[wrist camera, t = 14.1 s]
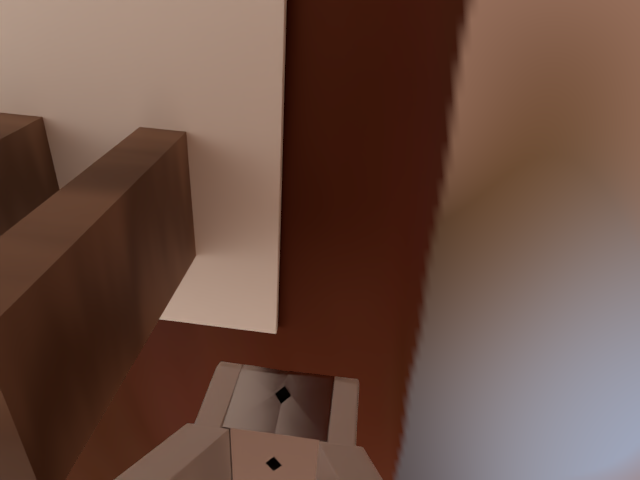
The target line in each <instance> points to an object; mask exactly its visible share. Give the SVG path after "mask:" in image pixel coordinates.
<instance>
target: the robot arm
mask: <svg viewBox="0 0 640 480" xmlns="http://www.w3.org/2000/svg"><path fill="white" fill-rule="evenodd" d="M333 385H334V386H333ZM332 394H333V395H332ZM358 395H359V381H358V379H352V378H344V377H335V379H334V376H329V375H320V374H311V373H303V372H294V371H283V370H276V369H270V368H263V367H257V366H250V365H242V364H235V363H228V362H222V361H221V362H220V363H219V364H218V366H217V367H216V370H215V372H214V375H213V377H212V380H211V382H210V385H209V388H208V390H207V393H206V395H205V398H204V400H203V403H202V406H201V408H200V411H199V413H198V416H197V418H196V421H195V423H194V424H189V423H187V424H186V425H184V426H183V427H182V428H181V429H179V430H178V431H177V432H175V433H174V434H173V435H171V436H170V437H169V438H168V439H166V440H165V441H164V442H162V443H161V444H160V445H158V446H157V447H156V448H155V449H153V450H152V451H151V452H149V453H148V454H147V455H146V456H144V457H143V458H142V459H140V460H139V461H138V462H136V463H135V464H134V465H133V466H131V467H130V468H129V469H127V470H126V471H125V472H124V473H122V474H121V475H120V476H118V477H117V478H116V479H114V480H382V478H381V476H380V475H379V473H378V471H377V470H376V468H375V466H374V465H373V463H372V461H371V460H370V458H369V457H368V455H367V453H366V452H365V450H364V448H363V447H358V446H356V432H357V413H358ZM331 403H332V404H331Z"/></svg>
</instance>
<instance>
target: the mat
mask: <svg viewBox="0 0 640 480" xmlns="http://www.w3.org/2000/svg"><path fill="white" fill-rule="evenodd" d="M286 9H287V0H0V113H9V114H19V115H29V116H39V117H43V121H44V125H45V130H46V134H47V138H48V142H49V147H50V151H51V155H52V160H53V164H54V168H55V172H56V177H57V181H58V185H59V189H61V188H62V187H64V186H65V185H66V184H68V183H69V182H70V181H71V180H73V179H74V178H75V177H76V176H78V175H79V174H80V173H82V172H83V171H84V170H85V169H87V168H88V167H89V166H90V165H92V164H93V163H94V162H96V161H97V160H98V159H99V158H101V157H102V156H103V155H105V154H106V153H107V152H108V151H110V150H111V149H112V148H113V147H115V146H116V145H117V144H119V143H120V142H121V141H122V140H124V139H125V138H126V137H127V136H129V135H130V134H131V133H133V132H134V131H135V130H136V129H138V128H139V127H146V128H156V129H165V130H175V131H185V132H186V135H187V147H188V160H189V173H190V185H191V198H192V210H193V223H194V235H195V248H196V257H195V259H194V260H193V262H192V264H191V266H190V267H189V269H188V271H187V272H186V274H185V276H184V278H183V279H182V281H181V283H180V284H179V286H178V288H177V290H176V291H175V293H174V295H173V296H172V298H171V300H170V302H169V303H168V305H167V307H166V308H165V310H164V312H163V313H162V315H161V317H160V319H162V320H170V321H178V322H186V323H194V324H202V325H210V326H218V327H226V328H233V329H241V330H249V331H257V332H265V333H273V334H276V332H277V329H278V301H279V265H280V228H281V192H282V155H283V119H284V82H285V46H286Z"/></svg>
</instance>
